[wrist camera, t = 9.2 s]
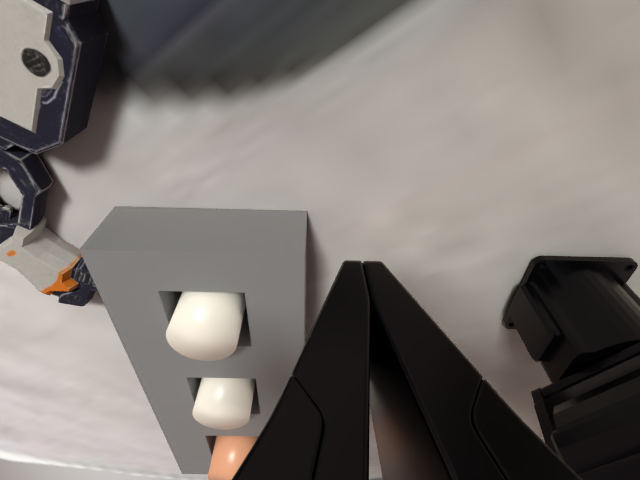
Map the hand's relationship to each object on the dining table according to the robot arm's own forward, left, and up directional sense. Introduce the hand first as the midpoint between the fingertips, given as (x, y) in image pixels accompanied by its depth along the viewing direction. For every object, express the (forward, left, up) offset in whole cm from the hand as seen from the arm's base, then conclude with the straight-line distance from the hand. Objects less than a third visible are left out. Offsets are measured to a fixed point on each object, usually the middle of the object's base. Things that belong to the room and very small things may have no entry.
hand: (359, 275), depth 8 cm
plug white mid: (+7, +19, -12) cm, 23 cm away
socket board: (+7, +19, -12) cm, 24 cm away
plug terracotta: (+7, +27, -11) cm, 30 cm away
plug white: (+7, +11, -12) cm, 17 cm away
